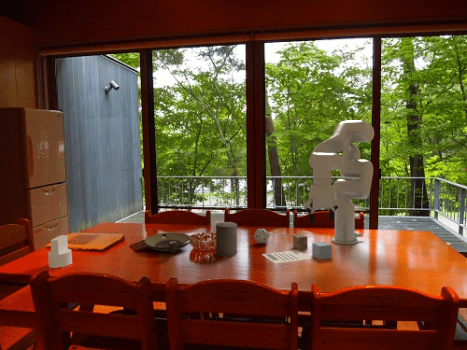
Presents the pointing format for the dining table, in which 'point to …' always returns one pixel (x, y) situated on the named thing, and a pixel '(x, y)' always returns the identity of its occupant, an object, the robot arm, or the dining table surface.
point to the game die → (261, 236)
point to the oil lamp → (167, 241)
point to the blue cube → (322, 250)
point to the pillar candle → (226, 239)
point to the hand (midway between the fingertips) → (321, 221)
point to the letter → (286, 256)
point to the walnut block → (300, 242)
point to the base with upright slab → (59, 252)
